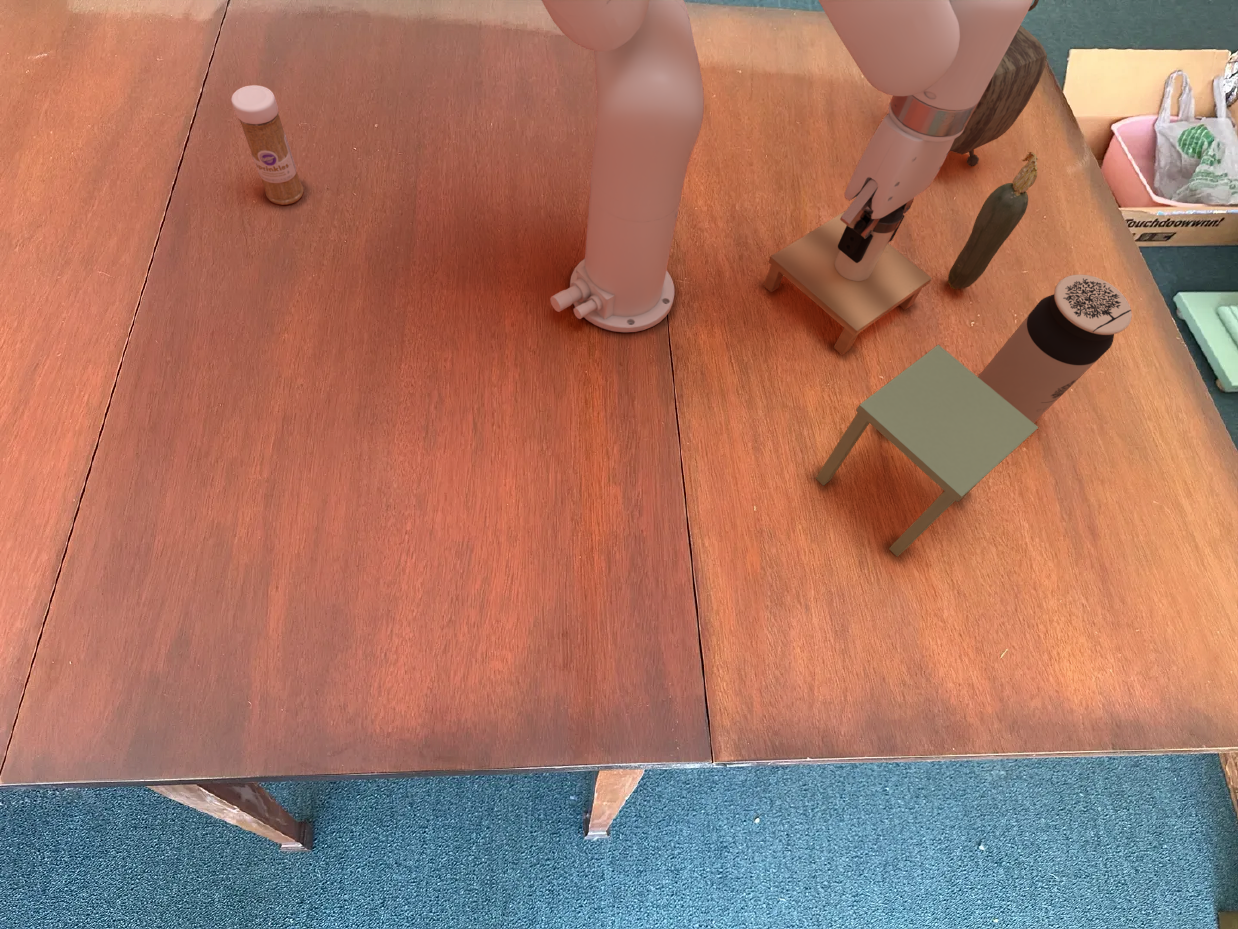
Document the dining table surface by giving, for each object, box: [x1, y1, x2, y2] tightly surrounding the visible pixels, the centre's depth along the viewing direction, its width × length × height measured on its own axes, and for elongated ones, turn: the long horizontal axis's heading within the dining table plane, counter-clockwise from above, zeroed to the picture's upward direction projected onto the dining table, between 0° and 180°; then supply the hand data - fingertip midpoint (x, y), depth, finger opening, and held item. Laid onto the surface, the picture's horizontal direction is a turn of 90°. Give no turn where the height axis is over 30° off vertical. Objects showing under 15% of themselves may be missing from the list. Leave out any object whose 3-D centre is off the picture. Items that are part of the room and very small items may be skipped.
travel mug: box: [977, 274, 1133, 424], centre depth 83 cm, size 8×8×18 cm
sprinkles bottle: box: [230, 84, 305, 206], centre depth 91 cm, size 5×5×14 cm
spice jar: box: [835, 202, 904, 281], centre depth 89 cm, size 5×5×9 cm
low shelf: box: [763, 210, 933, 356], centre depth 95 cm, size 14×14×5 cm
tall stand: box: [815, 344, 1039, 558], centre depth 78 cm, size 12×12×14 cm
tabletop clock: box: [949, 0, 1048, 167], centre depth 103 cm, size 14×9×25 cm, turn 34°
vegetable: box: [947, 151, 1039, 290], centre depth 91 cm, size 4×4×20 cm
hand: (864, 243), depth 90 cm, fingers closed on spice jar, 4 cm apart
